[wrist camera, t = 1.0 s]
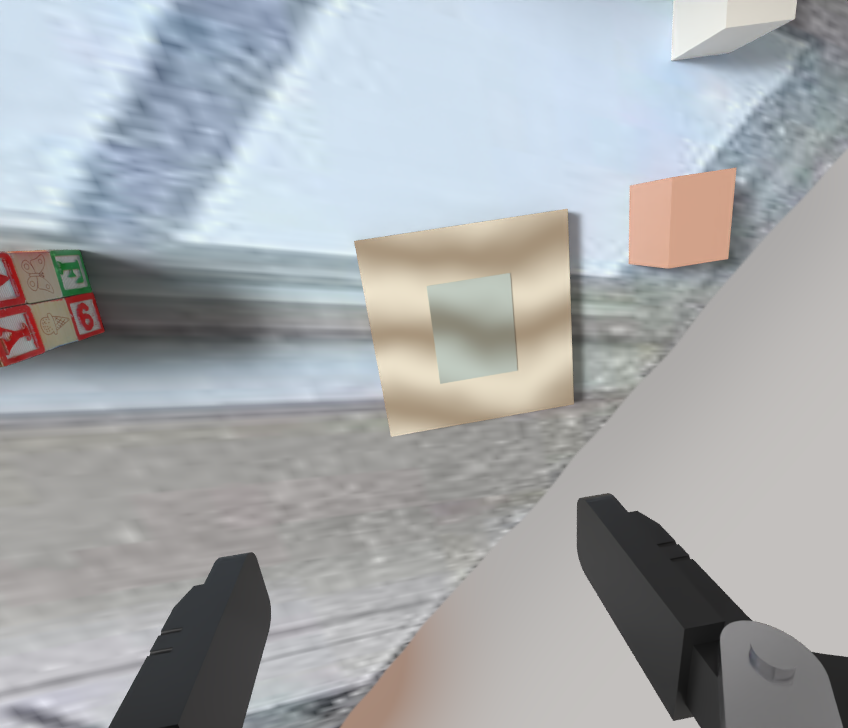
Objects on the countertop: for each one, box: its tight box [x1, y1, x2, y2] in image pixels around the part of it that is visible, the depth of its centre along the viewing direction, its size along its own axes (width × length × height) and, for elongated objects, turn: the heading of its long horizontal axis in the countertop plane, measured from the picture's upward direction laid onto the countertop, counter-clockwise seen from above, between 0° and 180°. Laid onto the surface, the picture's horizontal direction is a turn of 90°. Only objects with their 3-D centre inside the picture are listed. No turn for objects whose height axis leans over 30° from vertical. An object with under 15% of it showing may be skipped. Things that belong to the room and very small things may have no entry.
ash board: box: [354, 209, 574, 437], centre depth 33 cm, size 16×16×2 cm
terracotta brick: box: [629, 168, 736, 268], centre depth 31 cm, size 6×4×5 cm
